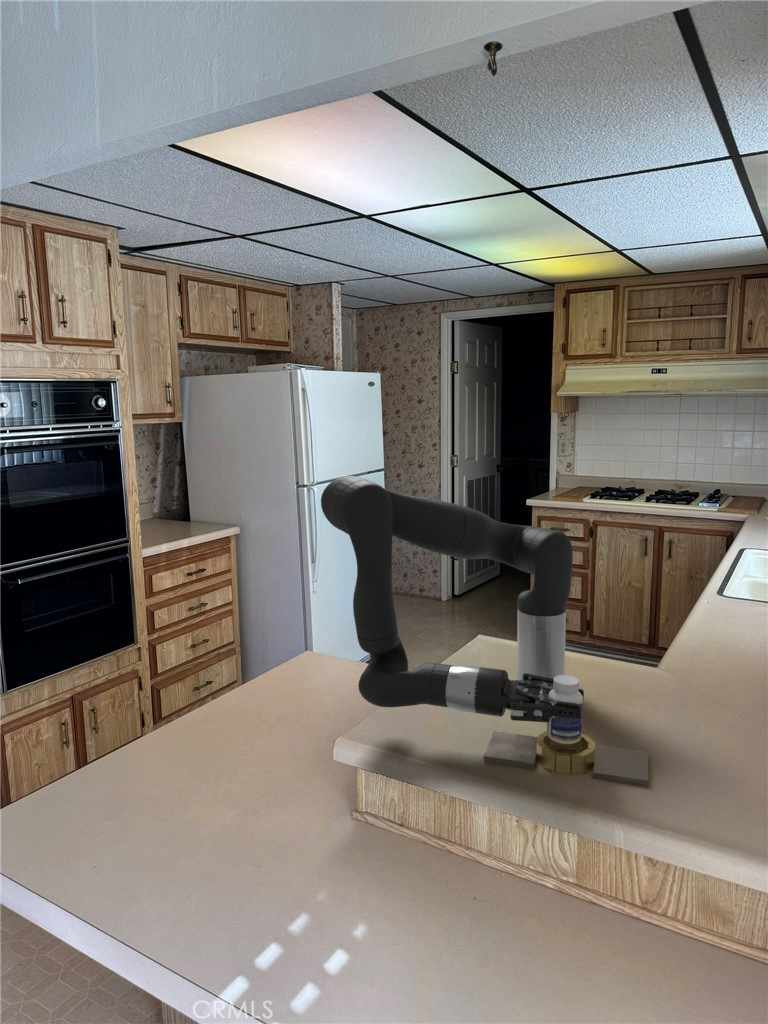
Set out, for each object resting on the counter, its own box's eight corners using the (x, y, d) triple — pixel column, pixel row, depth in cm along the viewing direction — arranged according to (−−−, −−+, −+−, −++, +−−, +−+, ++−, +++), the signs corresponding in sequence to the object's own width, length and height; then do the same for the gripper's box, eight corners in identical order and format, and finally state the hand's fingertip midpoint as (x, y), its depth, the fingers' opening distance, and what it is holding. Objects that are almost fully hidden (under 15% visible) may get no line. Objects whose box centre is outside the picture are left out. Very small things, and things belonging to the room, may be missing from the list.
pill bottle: (588, 742, 110) (590, 684, 109) (557, 747, 109) (560, 688, 107) (569, 727, 115) (572, 671, 114) (540, 731, 114) (542, 675, 112)
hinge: (493, 736, 121) (493, 720, 121) (647, 757, 113) (647, 740, 112) (483, 761, 113) (483, 744, 112) (648, 786, 104) (649, 768, 104)
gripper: (467, 684, 108) (580, 699, 103) (485, 653, 122) (586, 665, 116) (467, 730, 110) (578, 747, 104) (485, 694, 123) (584, 707, 117)
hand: (581, 703), depth 110 cm, fingers closed on pill bottle, 5 cm apart
